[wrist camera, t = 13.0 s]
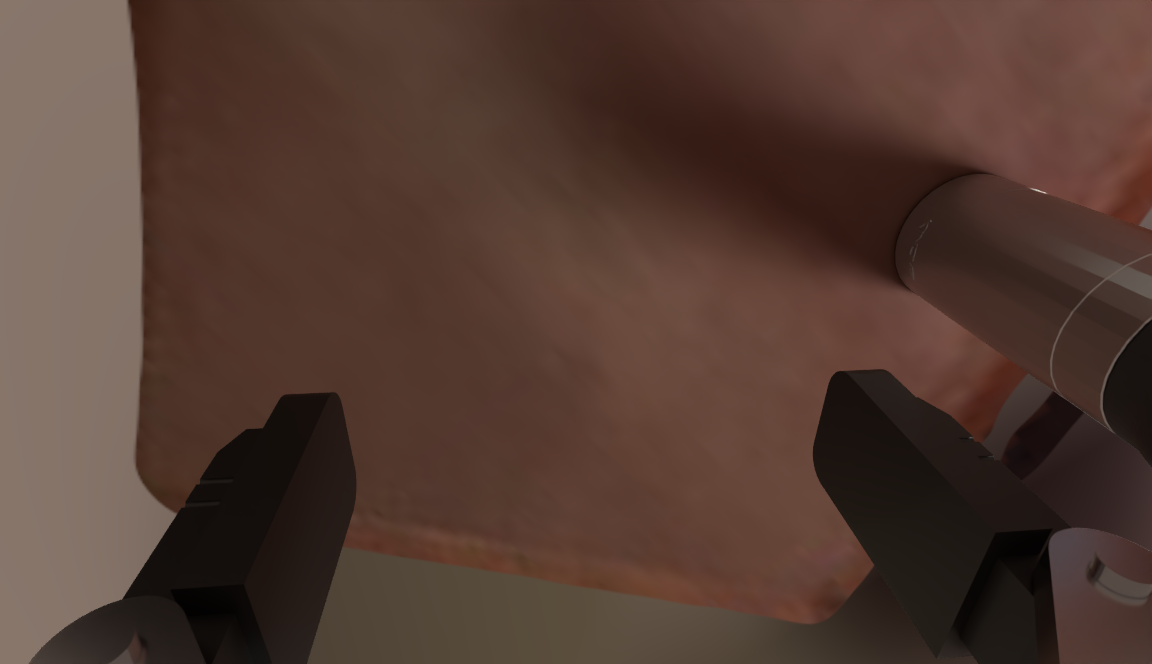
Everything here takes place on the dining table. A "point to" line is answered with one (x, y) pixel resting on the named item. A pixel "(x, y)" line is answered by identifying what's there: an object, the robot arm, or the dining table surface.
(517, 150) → the dining table surface
